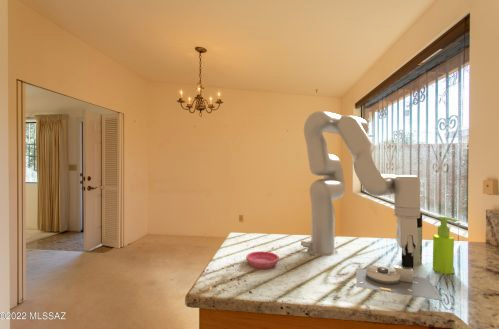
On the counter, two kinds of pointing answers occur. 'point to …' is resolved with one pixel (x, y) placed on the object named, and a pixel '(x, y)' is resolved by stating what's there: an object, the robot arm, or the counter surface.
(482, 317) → the counter surface
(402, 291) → the board
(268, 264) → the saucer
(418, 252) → the spray can
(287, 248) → the counter surface
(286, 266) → the counter surface
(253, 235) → the counter surface
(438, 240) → the soap dispenser
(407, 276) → the dial
